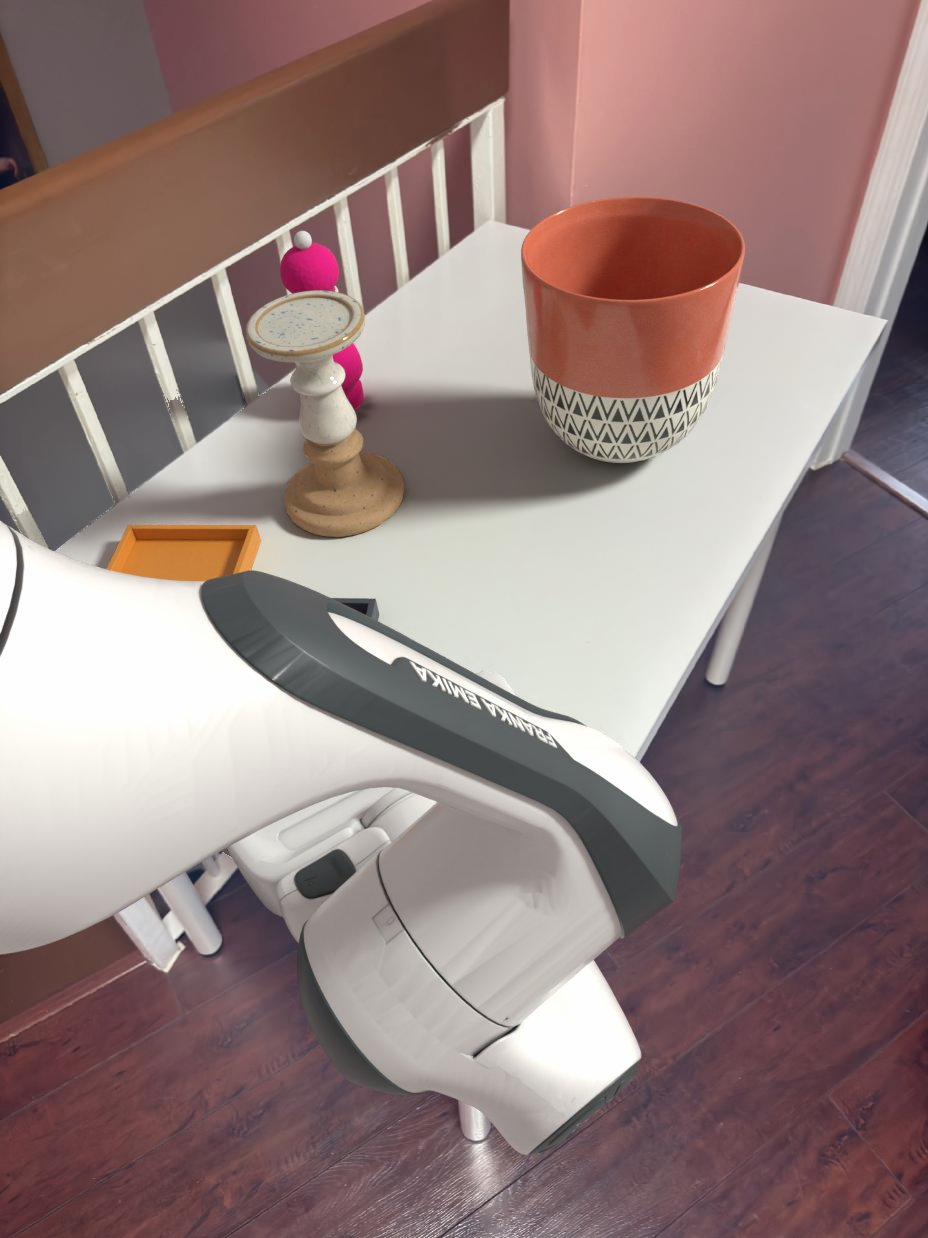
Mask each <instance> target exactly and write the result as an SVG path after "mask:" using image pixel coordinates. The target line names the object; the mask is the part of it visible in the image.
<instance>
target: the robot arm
mask: <svg viewBox="0 0 928 1238" xmlns="http://www.w3.org/2000/svg"><path fill="white" fill-rule="evenodd" d="M332 598H333V597H330V596H327V595H325V594H324V593H322V592H319V591H317V590H314V589H312V588H310V587H307V586H305V585H302V584H299V583H297V582H294V581H291V580H290V579H286V578H283V577H280V576H278V575H277V576H276V575H273V574H271V573H267V572H264V571H259V570H253V569H251V570H249V571H244V572H240V573H235V574H231V575H227V576H222V577H218V578H213V579H209V580H207V581H175V580H164V579H155V578H148V577H140V576H135V575H130V574H125V573H120V572H115V571H111V570H107V568H103V567H100V566H96V565H92V564H89V563H86V562H83V561H80V560H77V559H75V558H71V557H69V556H66V555H64V554H61V553H60V552H57V551H55V550H52V549H49V548H48V547H45V546H44V545H41V544H39V543H37V542H36V541H34V540H32V539H30V538H28V537H27V536H25V535H24V534H22V533H21V532H19V531H18V530H15V528H13V527H11V526H10V525H8V524H6V523H4V522H3V521H2V520H0V955H7V954H14V953H20V952H24V951H28V950H33V949H35V948H39V947H43V946H46V945H49V944H52V943H54V942H57V941H61V940H63V939H65V938H68V937H70V936H72V935H74V934H76V933H80V932H83V931H84V930H86V929H88V928H90V927H92V926H94V925H97V924H99V923H100V922H101V923H102V922H103V921H105V920H107V919H109V918H111V917H113V916H115V915H117V914H119V913H120V912H123V911H124V910H126V909H127V908H129V907H130V906H132V905H134V904H136V903H137V902H139V901H140V900H142V899H144V898H145V897H146V896H148V895H150V894H152V893H153V892H155V891H156V890H158V889H159V888H161V887H163V886H165V885H166V884H168V883H170V882H172V880H175V879H176V878H177V877H180V876H181V875H183V874H184V873H186V872H188V871H189V870H191V869H192V868H194V867H196V866H198V865H200V864H202V863H203V862H204V861H206V860H209V859H210V858H212V857H213V856H215V855H217V854H219V853H220V852H222V851H224V850H225V849H226V850H227V852H228V853H229V855H230V857H231V859H232V861H233V862H234V864H235V866H236V867H237V868H238V870H239V872H240V874H241V875H242V877H243V878H244V880H245V881H246V884H248V886H249V887H250V889H251V891H253V893H254V894H255V896H256V897H257V899H259V901H260V902H261V903H262V905H263V906H264V907H265V908H266V909H268V911H270V912H271V913H273V914H274V915H277V916H278V917H282V918H283V920H284V923H285V925H286V928H287V929H288V931H289V933H290V934H291V936H292V937H293V939H294V940H295V941H296V943H297V953H296V975H297V987H298V994H299V1000H300V1003H301V1007H302V1010H303V1013H304V1015H305V1018H306V1020H307V1022H308V1024H309V1026H310V1029H311V1031H312V1033H313V1035H314V1036H315V1039H316V1040H317V1042H318V1044H319V1046H320V1047H321V1049H322V1050H323V1052H324V1054H325V1055H326V1057H327V1058H328V1060H329V1061H330V1062H331V1064H332V1065H333V1066H334V1068H335V1069H336V1070H337V1071H338V1072H339V1074H340V1075H341V1076H342V1077H344V1079H346V1081H348V1082H350V1083H352V1084H354V1085H357V1086H359V1087H362V1088H366V1089H370V1090H373V1091H376V1092H381V1093H384V1094H385V1093H386V1094H390V1095H398V1096H419V1095H420V1096H421V1095H425V1094H428V1093H431V1092H434V1093H439V1094H441V1095H443V1096H444V1095H445V1096H446V1097H449V1098H453V1099H456V1100H457V1101H459V1102H462V1103H464V1104H466V1105H469V1106H471V1107H472V1108H474V1109H476V1110H478V1111H479V1112H480V1113H482V1115H484V1116H485V1117H486V1118H487V1119H488V1120H489V1121H490V1123H491V1125H493V1126H494V1127H495V1129H496V1130H497V1131H498V1132H499V1133H500V1135H501V1136H502V1137H503V1139H504V1140H505V1141H506V1143H508V1144H509V1146H510V1147H511V1148H512V1149H513V1150H515V1151H516V1152H517V1153H519V1154H521V1155H525V1156H528V1155H529V1156H531V1155H535V1154H539V1155H541V1154H543V1153H546V1152H548V1151H551V1150H552V1149H554V1148H556V1147H557V1146H558V1145H559V1144H561V1143H562V1142H563V1141H564V1140H565V1139H567V1138H568V1137H569V1136H570V1135H571V1134H572V1133H574V1132H575V1131H576V1130H577V1129H578V1128H579V1127H581V1126H582V1125H583V1124H584V1123H585V1122H587V1121H588V1120H589V1119H590V1118H591V1117H592V1116H593V1115H594V1114H596V1113H598V1112H599V1111H600V1109H602V1108H603V1107H604V1106H605V1105H606V1104H608V1103H609V1102H611V1101H612V1099H613V1098H615V1097H616V1096H618V1095H619V1094H620V1093H621V1092H622V1091H623V1090H624V1089H626V1088H627V1087H628V1085H629V1084H630V1083H631V1082H632V1081H633V1079H634V1077H635V1076H636V1075H637V1072H638V1067H639V1065H640V1062H641V1059H642V1050H641V1048H640V1044H639V1043H638V1039H637V1037H636V1036H635V1033H634V1031H633V1029H632V1027H631V1025H630V1023H629V1021H628V1019H627V1017H626V1015H625V1013H624V1011H623V1009H622V1007H621V1005H620V1004H619V1001H618V1000H617V998H616V996H615V994H614V993H613V991H612V989H611V987H610V985H609V983H608V981H607V979H606V978H605V976H604V975H603V973H602V971H601V969H600V968H599V966H598V964H597V963H596V961H595V959H597V958H598V957H599V956H600V955H601V954H602V953H603V952H605V951H606V950H607V949H608V948H609V947H611V946H612V945H613V944H614V943H615V942H616V941H617V940H619V939H621V940H624V939H625V938H626V937H628V936H630V934H632V933H633V932H635V931H636V930H637V929H639V928H640V927H641V926H643V925H644V924H645V923H647V922H648V921H649V920H651V919H652V918H653V917H655V916H656V915H658V914H659V913H661V912H663V910H664V909H666V908H667V907H669V906H670V905H672V904H673V903H674V901H675V896H676V892H677V887H678V882H679V877H680V876H679V875H680V868H681V861H682V849H683V848H682V847H683V826H682V824H681V821H680V820H679V819H678V816H677V815H676V814H675V811H674V809H673V806H672V805H671V803H670V800H669V798H668V797H667V795H666V794H665V792H664V790H663V789H662V788H661V786H660V785H659V782H657V780H656V779H655V778H654V777H653V775H652V774H651V773H650V772H649V771H648V769H647V768H646V767H645V766H644V765H643V764H642V763H641V762H640V761H639V760H638V759H637V758H636V757H635V756H634V755H633V754H632V753H630V751H628V750H627V749H626V748H625V747H624V746H622V745H621V744H620V743H619V742H617V741H615V740H614V739H612V738H610V736H608V735H606V734H604V733H602V732H601V731H598V730H597V729H594V728H592V727H589V726H587V725H586V724H584V723H583V722H581V721H580V720H578V719H576V718H574V717H571V716H568V715H566V714H562V713H558V712H555V711H552V710H551V711H550V710H547V709H545V708H542V707H539V706H537V705H535V704H533V703H531V702H529V701H526V700H525V699H523V698H521V697H519V696H517V695H516V693H515V692H514V691H513V689H512V687H511V686H510V684H509V683H508V681H506V679H505V678H504V676H503V675H501V674H499V673H496V672H493V671H489V670H480V671H478V672H476V673H475V672H473V671H472V670H469V669H467V668H466V667H464V666H462V665H461V664H458V663H457V662H454V661H453V660H451V659H449V658H447V657H445V656H444V655H442V654H440V653H439V652H437V651H435V650H433V649H431V648H429V647H427V646H426V645H424V644H422V643H419V642H418V641H416V640H414V639H412V638H410V637H409V636H407V635H405V634H403V633H401V632H400V631H398V630H396V629H394V628H392V627H390V626H388V625H386V624H384V623H382V622H380V621H379V620H378V621H376V620H374V619H372V618H370V617H368V616H366V615H364V614H362V613H361V612H358V611H356V610H354V609H352V608H350V607H348V606H346V605H344V604H342V603H340V602H338V601H336V600H334V599H332Z"/></svg>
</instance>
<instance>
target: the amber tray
mask: <svg viewBox="0 0 928 1238" xmlns="http://www.w3.org/2000/svg"><path fill="white" fill-rule="evenodd" d="M261 542H262V539H261V536H260V532H259V529H258V526H257V524H127V526H126V528H125V529H124V531H123V533H122V535H121V538H120V540H119V542H118V544H117V546H116V548H115V551H114V552H113V554H112V556H111V559H110V561H109V562H108V565H107V567H106V569H107V570H111V571H115V572H120V573H125V574H130V575H135V576H140V577H148V578H155V579H164V580H175V581H207V580H209V579H213V578H218V577H222V576H227V575H231V574H235V573H240V572H244V571H249V570H253V569H252V568H253V565H254V563H255V560H256V557H257V554H258V552H259V549H260V546H261Z"/></svg>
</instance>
